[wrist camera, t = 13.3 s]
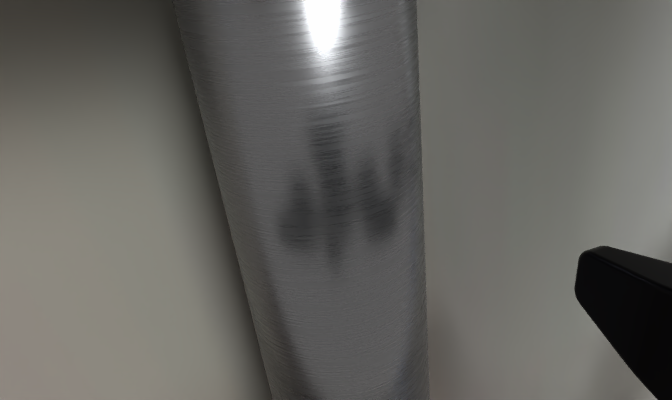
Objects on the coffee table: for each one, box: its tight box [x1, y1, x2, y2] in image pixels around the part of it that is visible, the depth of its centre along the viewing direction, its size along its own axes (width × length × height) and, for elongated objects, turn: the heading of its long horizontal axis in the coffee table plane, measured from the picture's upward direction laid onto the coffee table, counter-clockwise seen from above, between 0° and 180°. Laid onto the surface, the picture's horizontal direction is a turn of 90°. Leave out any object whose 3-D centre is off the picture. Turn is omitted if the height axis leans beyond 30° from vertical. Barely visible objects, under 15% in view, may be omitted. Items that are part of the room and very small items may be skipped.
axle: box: [172, 0, 430, 400], centre depth 11 cm, size 18×4×4 cm
